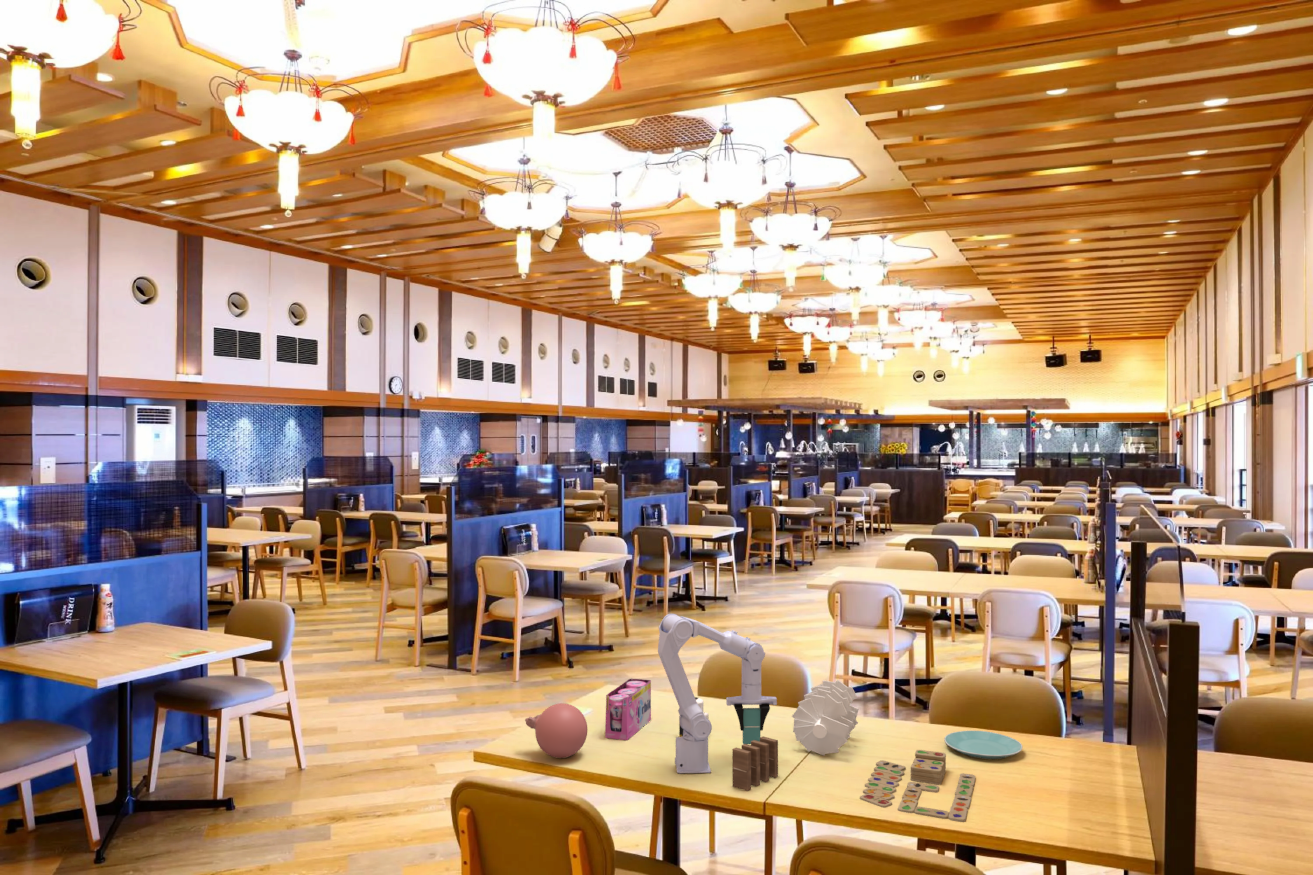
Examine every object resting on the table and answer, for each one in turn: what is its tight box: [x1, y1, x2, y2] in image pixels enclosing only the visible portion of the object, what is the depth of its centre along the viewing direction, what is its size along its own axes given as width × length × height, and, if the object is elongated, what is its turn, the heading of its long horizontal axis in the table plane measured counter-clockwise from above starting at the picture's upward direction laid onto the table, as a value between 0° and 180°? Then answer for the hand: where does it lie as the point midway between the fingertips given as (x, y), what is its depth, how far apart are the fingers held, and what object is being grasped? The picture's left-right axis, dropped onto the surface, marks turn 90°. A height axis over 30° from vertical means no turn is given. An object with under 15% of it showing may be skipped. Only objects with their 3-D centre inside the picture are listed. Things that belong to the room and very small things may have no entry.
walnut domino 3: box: [750, 740, 770, 783], centre depth 237 cm, size 2×5×10 cm, turn 47°
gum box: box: [604, 678, 652, 741], centre depth 281 cm, size 24×8×14 cm, turn 161°
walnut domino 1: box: [731, 747, 752, 792], centre depth 231 cm, size 2×5×10 cm, turn 48°
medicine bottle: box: [678, 696, 710, 737], centre depth 273 cm, size 7×7×12 cm
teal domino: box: [742, 707, 761, 745], centre depth 252 cm, size 2×5×10 cm, turn 92°
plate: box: [943, 730, 1023, 760], centre depth 260 cm, size 22×22×3 cm
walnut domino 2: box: [741, 743, 761, 787], centre depth 234 cm, size 2×5×10 cm, turn 47°
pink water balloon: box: [524, 702, 589, 759], centre depth 256 cm, size 15×20×15 cm
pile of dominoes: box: [859, 749, 976, 823], centre depth 230 cm, size 35×27×6 cm
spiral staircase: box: [791, 679, 859, 757], centre depth 265 cm, size 18×18×25 cm
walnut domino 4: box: [760, 736, 779, 779], centre depth 240 cm, size 2×5×10 cm, turn 48°
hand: (751, 729), depth 252 cm, fingers closed on teal domino, 5 cm apart
